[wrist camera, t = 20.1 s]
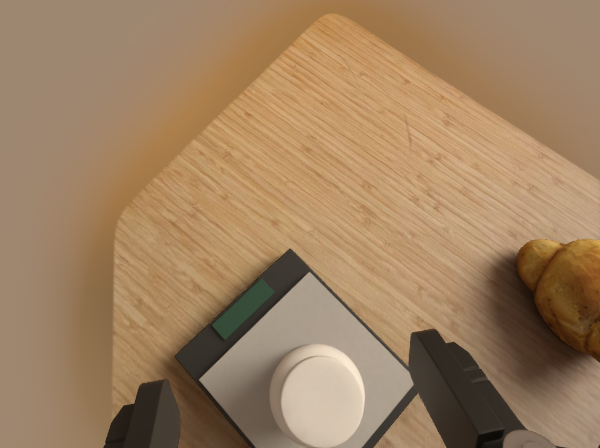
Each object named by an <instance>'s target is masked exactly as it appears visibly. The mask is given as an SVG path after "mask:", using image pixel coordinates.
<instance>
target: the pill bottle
mask: <svg viewBox="0 0 600 448" xmlns="http://www.w3.org/2000/svg"><path fill="white" fill-rule="evenodd" d="M269 393H270V407H271V411H272V414H273V417H274V419H275V421H276V423H277V425H278V426H279V428H280V429H281V431H282V432H283V433H284V434H285V435H286V436H287V437H288V438H289V439H291V440H292V441H294V442H295V443H297V444H299V445H301V446H304V447H308V448H331V447H335V446H338V445H340V444H342V443H343V442H345V441H347V440H348V439H349V438H350V437H351V436H352V435H353V434H354V432H355V431H356V429H357V428H358V426H359V424H360V422H361V419H362V415H363V410H364V403H365V391H364V385H363V381H362V378H361V375H360V373H359V371H358V369H357V367H356V366H355V364H354V363H353V362H352V360H351V359H350V358H349V357H348V356H347V355H345V354H344V353H343V352H341V351H340V350H338V349H336V348H334V347H332V346H329V345H325V344H306V345H301V346H298V347H296V348H294V349H292V350H291V351H289V352H288V353H287V354H286V355H285V356H284V357H283V358H282V360H281V361H280V362H279V364H278V366H277V368H276V370H275V372H274V374H273V377H272V380H271V384H270V392H269Z"/></svg>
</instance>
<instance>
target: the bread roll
mask: <svg viewBox="0 0 600 448" xmlns="http://www.w3.org/2000/svg"><path fill="white" fill-rule="evenodd" d="M517 269H518V273H519V276H520V278H521V280H522V281H523V283H524V284H525V285H526V286H527V287H528V288H529V289H530V290H531V291H532V292H533V293H534V303H535V305H536V306H537V309H538V312H539V313H540V314H541V316H542V318H543V320H544V321H545V322H546V324H547V325H548V326H549V327H550V328H551V329H552V330H553V332H554V333H555V334H556V335H557V336H558V337H559V338H561V339H562V340H563V341H564V342H565V343H566V344H568V345H569V346H571V347H573V348H574V349H576V350H578V351H582V352H585V353H588V354H590V355H591V356H592V357H594V358H595V359H596V360H597V361H599V362H600V241H599V240H592V239H581V240H576V241H572V242H570V243H568V244H562V243H559V242H555V241H553V240H551V241H549V240H547V239H539V240H532V241H530V242H528V243H526V244H525V245H524V246H523V247H522V248H521V249H520V251H519V253H518V255H517Z"/></svg>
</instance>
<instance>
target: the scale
mask: <svg viewBox="0 0 600 448" xmlns="http://www.w3.org/2000/svg"><path fill="white" fill-rule="evenodd" d="M306 344H325V345H329V346H332V347H334V348H336V349H338V350H340V351H341V352H343V353H344V354H345V355H347V356H348V357H349V358H350V359H351V360H352V362H353V363H354V364H355V366H356V367H357V369H358V371H359V373H360V375H361V378H362V381H363V385H364V391H365V403H364V410H363V415H362V419H361V422H360V424H359V426H358V428H357V429H356V431H355V432H354V434H353V435H352V436H351V437H350V438H349V439H348V440H347V441H345V442H343V443H342V444H340V445H338V446H335V447H331V448H373V447H374V446H375V445H376V444H377V442H378V441H379V440H380V439H381V437H382V436H383V435H384V434H385V433H386V431H387V430H388V429H389V428H390V426H391V425H392V424H393V423H394V422H395V420H396V419H397V418H398V417H399V415H400V414H401V413H402V412H403V410H404V409H405V408H406V407H407V406H408V404H409V403H410V402H411V401H412V399H413V398H414V397H415V396H416V395H417V393H418V391H417V389H416V388H415V386H414V384H413V381H412V379H411V376H410V372H409V367H408V366H407V365H406V364H405V363H404V362H403V361H402V360H401V359H400V358H399V357H398V356H397V355H396V354H395V353H394V352H393V351H392V350H391V349H390V348H389V347H388V346H387V345H386V344H385V343H384V342H383V341H382V340H381V339H380V338H379V337H378V336H377V335H376V334H375V333H374V332H373V331H372V330H371V329H370V328H369V327H368V326H367V325H366V324H365V323H364V322H363V321H362V320H361V319H360V318H359V317H358V316H357V315H356V314H355V313H354V312H353V311H352V310H351V309H350V308H349V307H348V306H347V305H346V304H345V303H344V302H343V301H342V300H341V299H340V298H339V297H338V296H337V295H336V294H335V293H334V292H333V291H332V290H331V289H330V288H329V287H328V286H327V285H326V284H325V282H324V281H323V280H322V279H321V278H320V277H319V276H318V275H317V274H316V273H315V272H314V271H313V270H312V269H311V268H310V267H309V266H308V265H307V264H306V263H305V262H304V261H303V260H302V259H301V258H300V257H299V256H298V255H297V254H296V253H295V252H294V251H293V250H292V249H289V250H288V251H287V252H285V253H284V254H283V255H282V256H281V257H280V258H279V259H278V260H277V261H276V262H275V263H274V264H273V265H272V266H271V267H269V268H268V269H267V270H266V271H265V272H264V273H263V274H262V275H261V276H260V277H259V278H258V279H257V280H256V281H254V282H253V283H252V284H251V285H250V286H249V287H248V288H247V289H246V290H245V291H244V292H243V293H242V294H241V295H240V296H238V297H237V298H236V299H235V300H234V301H233V302H232V303H231V304H230V305H229V306H228V307H227V308H226V309H225V310H223V311H222V312H221V313H220V314H219V315H218V316H217V317H216V318H215V319H214V320H213V321H212V322H211V323H210V324H209V325H207V326H206V327H205V328H204V329H203V330H202V331H201V332H200V333H199V334H198V335H197V336H196V337H195V338H194V339H192V340H191V341H190V342H189V343H188V344H187V345H186V346H185V347H184V348H183V349H182V350H181V351H180V352H179V353H178V354H176V355H175V358H176V359H177V360H178V361H179V362H180V364H181V365H182V366H183V367H184V368H185V370H186V371H187V372H188V373H189V374H190V376H191V377H192V378H193V379H194V380H195V381H196V383H197V384H198V385H199V386H200V387H201V389H202V390H203V391H204V392H205V393H206V395H207V396H208V397H209V398H210V399H211V401H212V402H213V403H214V404H215V405H216V407H217V408H218V409H219V410H220V411H221V412H222V414H223V415H224V416H225V417H226V418H227V420H228V421H229V422H230V423H231V424H232V426H233V427H234V428H235V429H236V430H237V432H238V433H239V434H240V435H241V436H242V438H243V439H244V440H245V441H246V442H247V443H248V445H249V446H250V447H251V448H308V447H304V446H301V445H299V444H297V443H295V442H294V441H292V440H291V439H289V438H288V437H287V436H286V435H285V434H284V433H283V432H282V431H281V429H280V428H279V426H278V425H277V423H276V421H275V419H274V417H273V414H272V411H271V407H270V393H269V392H270V384H271V380H272V377H273V374H274V372H275V370H276V368H277V366H278V364H279V362H280V361H281V360H282V358H283V357H284V356H285V355H286V354H287V353H288V352H289V351H291V350H292V349H294V348H296V347H298V346H301V345H306Z"/></svg>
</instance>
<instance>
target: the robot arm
mask: <svg viewBox="0 0 600 448" xmlns="http://www.w3.org/2000/svg"><path fill="white" fill-rule="evenodd" d="M409 372H410V376H411V379H412V381H413V384H414V386H415V388H416V389H417V391H418V393H419V395H420V397H421V399H422V401H423V403H424V405H425V407H426V409H427V411H428V413H429V415H430V416H431V418H432V420H433V422H434V424H435V426H436V428H437V430H438V432H439V434H440V436H441V438H442V440H443V442H444V443H445V445H446V447H447V448H564V447H558V446H555V445H554V444H552V443H551V442H550V441H549V440H547V439H546V438H545V437H543V436H541V435H539V434H537V433H535V432H532V431H528V430H527V429H526V428H525V427H524V426H523V425H522V423H521V422H520V421H519V420H518V418H517V417H516V415H515V414H514V413H513V411H512V410H511V409H510V407H509V406H508V405H507V403H506V402H505V401H504V399H503V398H502V397H501V395H500V394H499V393H498V391H497V390H496V389H495V387H494V386H493V385H492V383H491V382H490V381H488V379H487V377H486V375H485V374H484V373H483V371H482V370H481V369H479V366H478V364H477V363H476V362H475V360H474V359H473V358H472V356H471V355H470V354H469V352H467V351H466V350H464V349H463V348H462V347H460V346H459V345H458V344H456V343H455V342H451V343H445V341H444V340H443V338H442V337H441V335H440V334H439V333H438V331H437V330H435V329H429V330H423V331H418V332H413V333H412V334H411V339H410V351H409ZM179 435H180V413H179V409H178V406H177V403H176V400H175V398H174V395H173V392H172V389H171V387H170V384H169V381H168V380H167V379H163V380H158V381H153V382H147V383H142V384H141V385H140V386H139V389H138V392H137V396H136V400H135V403H134V404H130V405H124V406H123V407H122V409H121V410H120V411H119V413H118V414H117V416H116V417H115V418H114V420H113V421H112V423H111V425H110V429H109V432H108V435H107V438H106V441H105V442H106V444H105V445H104V448H178V443H179ZM598 448H600V445H599V447H598Z"/></svg>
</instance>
